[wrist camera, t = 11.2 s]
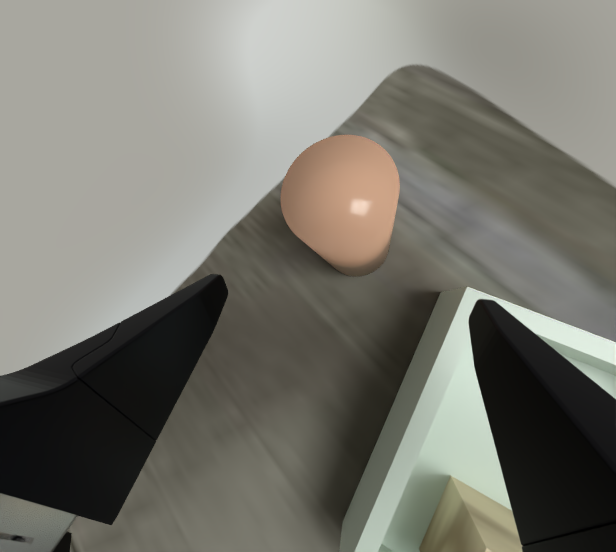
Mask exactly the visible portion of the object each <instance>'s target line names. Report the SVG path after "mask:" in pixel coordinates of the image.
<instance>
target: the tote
mask: <svg viewBox="0 0 616 552" xmlns="http://www.w3.org/2000/svg"><path fill="white" fill-rule="evenodd" d="M478 299H489V300H494V301H496V302H497V303H498V304H499V305H501V306H502V307H503V308H504V309H506V310H507V311H508V312H509V313H510V314H512V315H513V316H514V317H515V318H517V319H518V320H519V321H520V322H522V323H523V324H524V325H525V326H526V327H528V328H529V329H530V330H531V331H533V332H534V333H535V334H536V335H538V336H539V337H540V338H541V339H542V340H544V341H545V342H546V343H547V344H549V345H550V346H551V347H552V348H554V349H555V350H556V351H557V352H558V353H560V354H561V355H562V356H563V357H565V358H566V359H567V360H568V361H570V362H571V363H572V364H573V365H574V366H576V367H577V368H578V369H579V370H581V371H582V372H583V373H584V374H585V375H587V376H588V377H589V378H590V379H592V380H593V381H594V382H595V383H597V384H598V385H599V386H600V387H601V388H603V389H604V390H605V391H606V392H608V393H609V394H610V395H611V396H613V397H614V398H615V399H616V342H613V341H610V340H608V339H605V338H602V337H600V336H597V335H594V334H592V333H589V332H587V331H584V330H581V329H579V328H576V327H573V326H571V325H568V324H565V323H563V322H560V321H557V320H555V319H552V318H549V317H547V316H544V315H541V314H539V313H536V312H533V311H531V310H528V309H525V308H523V307H520V306H517V305H515V304H512V303H510V302H507V301H504V300H502V299H499V298H496V297H494V296H491V295H488V294H486V293H483V292H480V291H478V290H475V289H472V288H470V287H463V288H458V289H453V290H448V291H443V292H441V293H440V295H439V297H438V300H437V302H436V304H435V307H434V309H433V311H432V314H431V316H430V318H429V321H428V323H427V325H426V328H425V330H424V332H423V335H422V337H421V339H420V342H419V344H418V346H417V349H416V351H415V353H414V356H413V358H412V361H411V363H410V365H409V368H408V370H407V372H406V375H405V377H404V379H403V382H402V384H401V386H400V389H399V391H398V393H397V396H396V398H395V400H394V403H393V405H392V407H391V410H390V412H389V414H388V417H387V419H386V421H385V424H384V426H383V428H382V431H381V433H380V435H379V438H378V440H377V442H376V445H375V447H374V449H373V452H372V454H371V456H370V459H369V461H368V463H367V466H366V468H365V470H364V473H363V475H362V478H361V480H360V482H359V485H358V487H357V489H356V492H355V494H354V496H353V499H352V501H351V503H350V506H349V508H348V510H347V513H346V515H345V517H344V520H343V523H342V532H341V541H340V550H339V552H420V550H419V547H420V545H421V543H422V540H423V538H424V536H425V533H426V531H427V529H428V526H429V524H430V522H431V519H432V517H433V515H434V513H435V510H436V508H437V506H438V503H439V501H440V499H441V496H442V494H443V492H444V489H445V487H446V485H447V482H448V480H449V478H450V475H451V476H452V477H454V478H456V479H458V480H459V481H461V482H463V483H465V484H466V485H468V486H470V487H472V488H473V489H475V490H477V491H479V492H480V493H482V494H484V495H485V496H487V497H489V498H491V499H492V500H494V501H496V502H498V503H499V504H501V505H503V506H505V507H506V508H508V509H510V510H512V508H511V505H510V501H509V497H508V493H507V490H506V486H505V482H504V478H503V474H502V471H501V467H500V463H499V459H498V455H497V452H496V448H495V444H494V440H493V437H492V433H491V429H490V425H489V421H488V418H487V414H486V410H485V406H484V402H483V399H482V395H481V391H480V387H479V384H478V380H477V376H476V372H475V368H474V361H473V354H472V346H471V339H470V331H469V323H468V322H469V316H470V314H471V312H472V309H473V307H474V305H475V303H476V301H477V300H478Z"/></svg>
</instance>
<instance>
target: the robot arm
mask: <svg viewBox="0 0 616 552" xmlns="http://www.w3.org/2000/svg"><path fill="white" fill-rule="evenodd" d="M227 296H228V289H227V286H226V284H225V281H224V279H223V277H222V276H221V275H217V274H211V275H209V276H207V277H205V278H203V279H201V280H199V281H197V282H195V283H193V284H192V285H190V286H188V287H186V288H184V289H182V290H180V291H178V292H176V293H174V294H173V295H171V296H169V297H167V298H165V299H163V300H161V301H159V302H157V303H156V304H154V305H152V306H150V307H148V308H146V309H144V310H143V311H141V312H139V313H137V314H135V315H133V316H131V317H129V318H127V319H125V320H123V321H122V322H121V323H118V324H116V325H114V326H112V327H110V328H108V329H106V330H104V331H102V332H100V333H99V334H97V335H95V336H93V337H91V338H89V339H86V340H85V341H83V342H80V343H78V344H76V345H74V346H72V347H70V348H68V349H65V350H63V351H61V352H59V353H57V354H55V355H53V356H50V357H48V358H46V359H44V360H42V361H40V362H38V363H36V364H33V365H31V366H29V367H27V368H24V369H22V370H19V371H16V372H13V373H10V374H7V375H3V376H0V552H70V543H71V534H72V533H69V532H67V530H68V529H69V528H70V526H71V525H72V523H73V522H74V520H75V519H76V517H77V516H81V517H84V518H88V519H91V520H95V521H98V522H102V523H105V524H109V525H112V524H113V522H114V521H115V519H116V517H117V515H118V514H119V512H120V510H121V508H122V506H123V504H124V502H125V500H126V498H127V496H128V494H129V492H130V491H131V489H132V487H133V485H134V483H135V481H136V479H137V477H138V475H139V473H140V471H141V469H142V467H143V466H144V464H145V462H146V460H147V458H148V456H149V454H150V452H151V450H152V448H153V446H154V444H155V443H156V440H157V438H158V436H159V435H160V433H161V431H162V429H163V427H164V425H165V423H166V421H167V419H168V417H169V415H170V413H171V412H172V410H173V408H174V406H175V404H176V402H177V400H178V398H179V396H180V394H181V392H182V390H183V389H184V387H185V385H186V383H187V381H188V379H189V377H190V375H191V373H192V371H193V369H194V367H195V366H196V364H197V362H198V360H199V358H200V356H201V354H202V352H203V350H204V348H205V346H206V344H207V343H208V341H209V339H210V337H211V335H212V333H213V331H214V329H215V326H216V324H217V322H218V319H219V317H220V314H221V312H222V309H223V306H224V304H225V301H226V299H227ZM468 323H469V331H470V339H471V346H472V354H473V361H474V368H475V372H476V376H477V380H478V384H479V387H480V391H481V395H482V399H483V402H484V406H485V410H486V414H487V418H488V421H489V425H490V429H491V433H492V437H493V440H494V444H495V448H496V452H497V455H498V459H499V463H500V467H501V471H502V474H503V478H504V482H505V486H506V490H507V493H508V497H509V501H510V505H511V508H512V512H513V516H514V520H515V524H516V527H517V531H518V535H519V539H520V542H521V545H522V551H523V552H616V399H615V398H614V397H613V396H611V395H610V394H609V393H608V392H606V391H605V390H604V389H603V388H601V387H600V386H599V385H598V384H597V383H595V382H594V381H593V380H592V379H590V378H589V377H588V376H587V375H585V374H584V373H583V372H582V371H581V370H579V369H578V368H577V367H576V366H574V365H573V364H572V363H571V362H570V361H568V360H567V359H566V358H565V357H563V356H562V355H561V354H560V353H558V352H557V351H556V350H555V349H554V348H552V347H551V346H550V345H549V344H547V343H546V342H545V341H544V340H542V339H541V338H540V337H539V336H538V335H536V334H535V333H534V332H533V331H531V330H530V329H529V328H528V327H526V326H525V325H524V324H523V323H522V322H520V321H519V320H518V319H517V318H515V317H514V316H513V315H512V314H510V313H509V312H508V311H507V310H506V309H504V308H503V307H502V306H501V305H499V304H498V303H497V302H496V301H494V300H489V299H478V300H477V301H476V303H475V305H474V307H473V309H472V312H471V314H470V316H469V322H468Z"/></svg>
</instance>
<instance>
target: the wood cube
mask: <svg viewBox="0 0 616 552" xmlns="http://www.w3.org/2000/svg"><path fill="white" fill-rule="evenodd" d="M419 550H420V552H523V551H522V545H521V542H520V539H519V535H518V531H517V527H516V524H515V520H514V516H513V512H512V510H510V509H508V508H506V507H505V506H503V505H501V504H499V503H498V502H496V501H494V500H492V499H491V498H489V497H487V496H485V495H484V494H482V493H480V492H479V491H477V490H475V489H473V488H472V487H470V486H468V485H466V484H465V483H463V482H461V481H459V480H458V479H456V478H454V477H452V476H451V475H450V478H449V480H448V482H447V485H446V487H445V489H444V492H443V494H442V496H441V499H440V501H439V503H438V506H437V508H436V510H435V513H434V515H433V517H432V519H431V522H430V524H429V526H428V529H427V531H426V533H425V536H424V538H423V540H422V543H421V545H420V547H419Z"/></svg>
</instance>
